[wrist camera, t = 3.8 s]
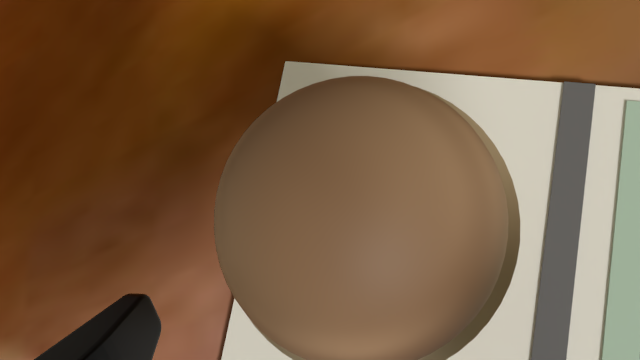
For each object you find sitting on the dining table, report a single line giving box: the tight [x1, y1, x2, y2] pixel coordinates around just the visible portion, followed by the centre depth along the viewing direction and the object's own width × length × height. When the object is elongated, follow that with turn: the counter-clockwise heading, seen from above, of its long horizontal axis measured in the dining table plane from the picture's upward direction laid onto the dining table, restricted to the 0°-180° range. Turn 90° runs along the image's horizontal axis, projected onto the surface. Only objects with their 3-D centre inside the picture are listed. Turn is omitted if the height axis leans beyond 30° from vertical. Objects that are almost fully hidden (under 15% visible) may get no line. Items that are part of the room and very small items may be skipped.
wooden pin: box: [214, 76, 520, 360], centre depth 12 cm, size 5×5×12 cm
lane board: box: [221, 61, 640, 360], centre depth 17 cm, size 22×14×1 cm, turn 79°
